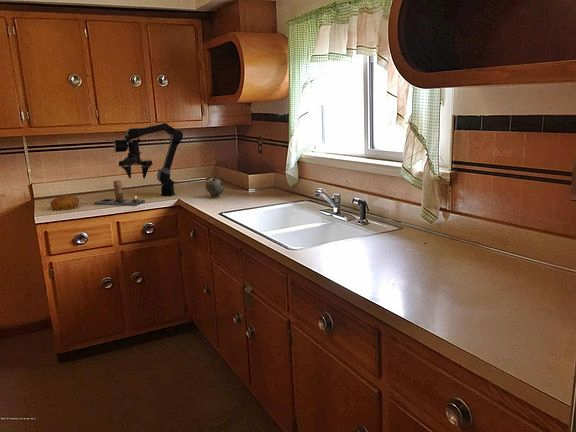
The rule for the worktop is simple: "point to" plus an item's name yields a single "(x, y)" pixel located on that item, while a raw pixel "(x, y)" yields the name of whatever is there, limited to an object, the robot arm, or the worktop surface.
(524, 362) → the worktop surface
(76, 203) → the bread loaf
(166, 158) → the robot arm
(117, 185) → the dowel
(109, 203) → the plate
